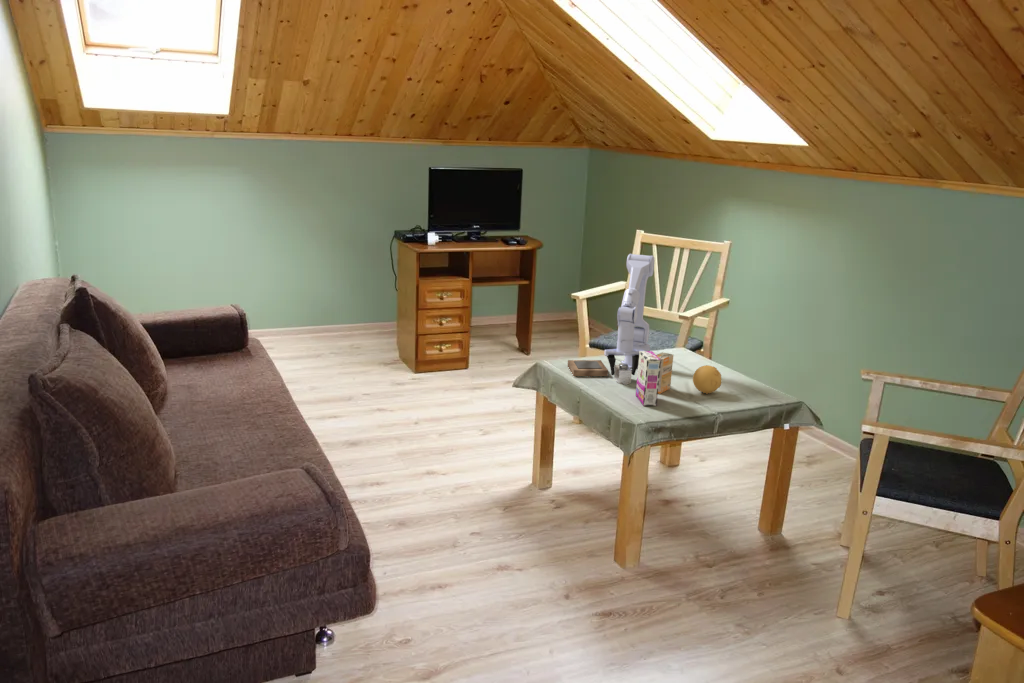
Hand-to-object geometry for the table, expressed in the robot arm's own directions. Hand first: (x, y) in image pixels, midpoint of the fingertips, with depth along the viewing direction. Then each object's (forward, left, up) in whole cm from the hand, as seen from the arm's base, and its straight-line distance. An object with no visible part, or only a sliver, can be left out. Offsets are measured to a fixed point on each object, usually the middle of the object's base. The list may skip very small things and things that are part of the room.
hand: (622, 374), depth 293 cm
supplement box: (-11, +11, -3) cm, 16 cm away
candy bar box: (-3, +22, -3) cm, 22 cm away
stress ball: (-27, +14, -3) cm, 30 cm away
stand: (+11, -11, -2) cm, 16 cm away
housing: (0, 0, -2) cm, 2 cm away
